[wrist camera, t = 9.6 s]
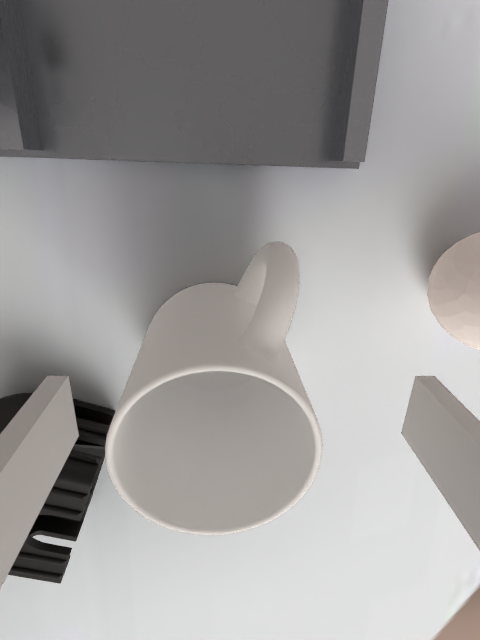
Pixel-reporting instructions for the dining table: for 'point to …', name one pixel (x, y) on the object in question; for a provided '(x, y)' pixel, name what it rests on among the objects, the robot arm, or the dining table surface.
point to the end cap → (62, 491)
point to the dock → (190, 80)
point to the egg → (458, 290)
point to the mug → (218, 407)
